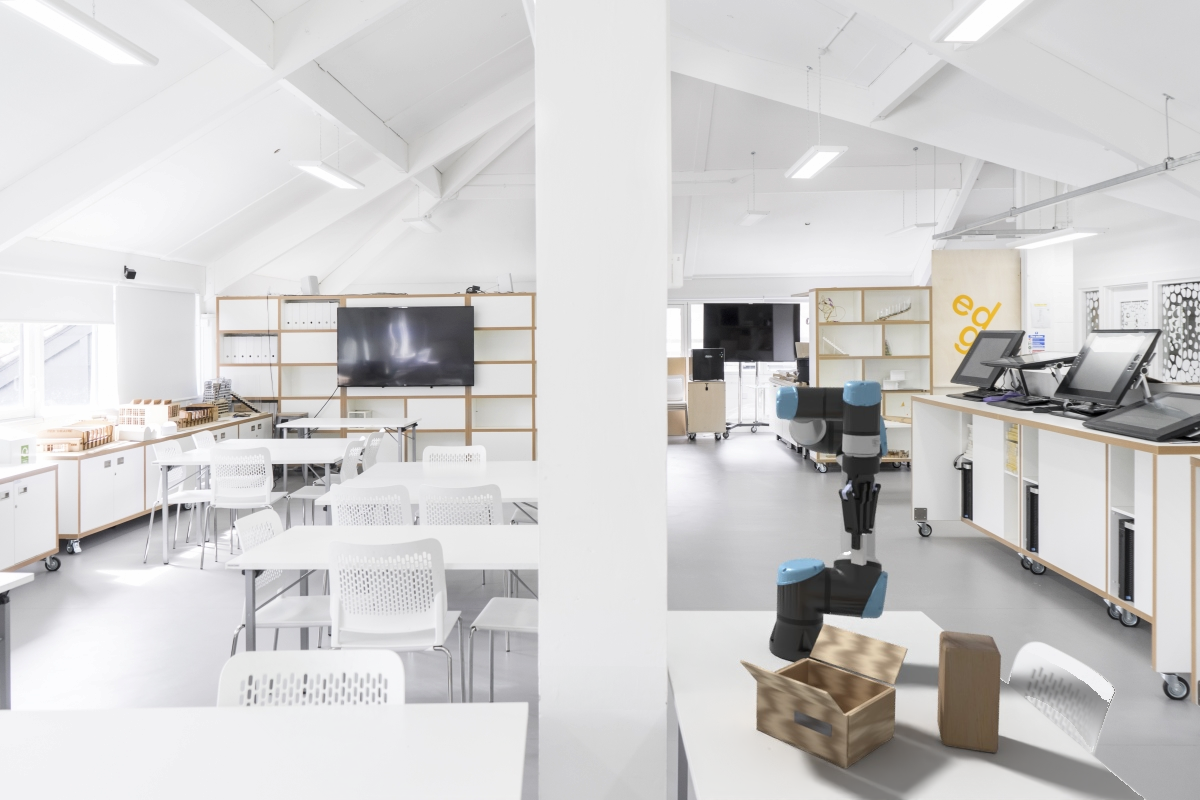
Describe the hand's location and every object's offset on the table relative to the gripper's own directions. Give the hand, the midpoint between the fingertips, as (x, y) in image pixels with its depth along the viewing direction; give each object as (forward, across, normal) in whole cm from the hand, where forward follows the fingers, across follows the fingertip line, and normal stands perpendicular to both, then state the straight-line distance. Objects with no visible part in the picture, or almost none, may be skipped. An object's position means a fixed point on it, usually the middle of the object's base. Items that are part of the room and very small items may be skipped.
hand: (858, 563), depth 164 cm
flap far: (+21, -6, -2) cm, 22 cm away
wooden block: (+32, +4, -22) cm, 39 cm away
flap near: (+21, -24, -3) cm, 32 cm away
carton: (+31, -16, -3) cm, 35 cm away
